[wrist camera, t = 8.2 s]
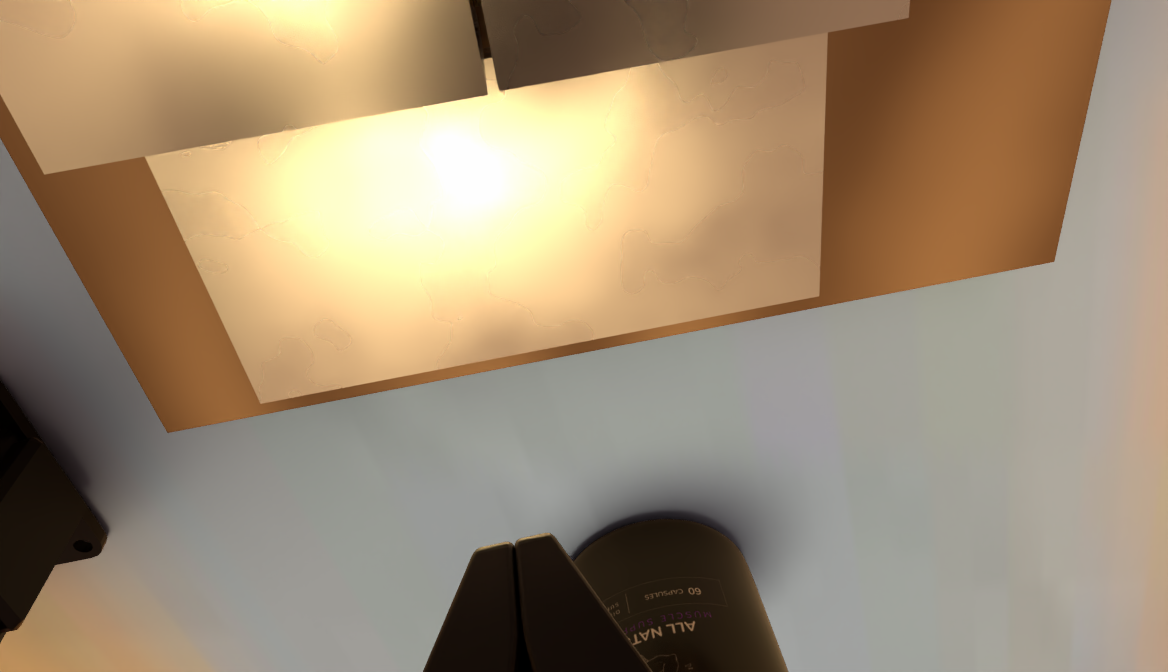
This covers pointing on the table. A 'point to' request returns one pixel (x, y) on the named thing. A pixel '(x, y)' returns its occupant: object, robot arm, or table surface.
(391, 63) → the fixed leaf
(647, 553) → the supplement bottle
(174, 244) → the board
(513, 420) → the table surface
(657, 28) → the loose leaf
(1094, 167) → the table surface
